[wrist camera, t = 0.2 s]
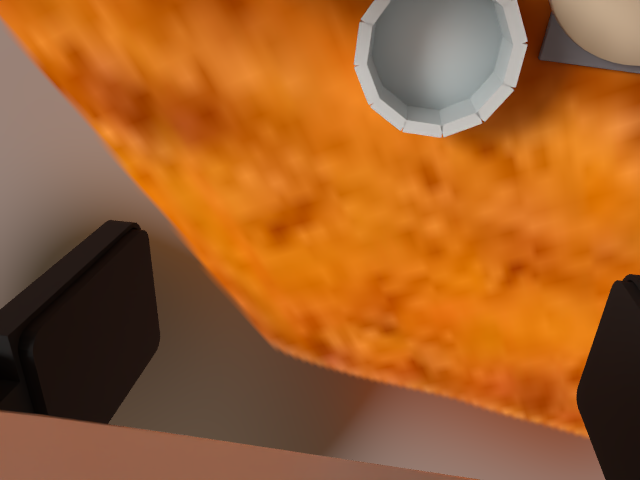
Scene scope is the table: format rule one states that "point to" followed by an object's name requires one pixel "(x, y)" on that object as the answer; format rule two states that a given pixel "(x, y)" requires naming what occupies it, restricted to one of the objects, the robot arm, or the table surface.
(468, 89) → the bowl
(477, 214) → the table surface
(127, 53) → the table surface
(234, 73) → the table surface
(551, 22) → the mat
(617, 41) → the lid
